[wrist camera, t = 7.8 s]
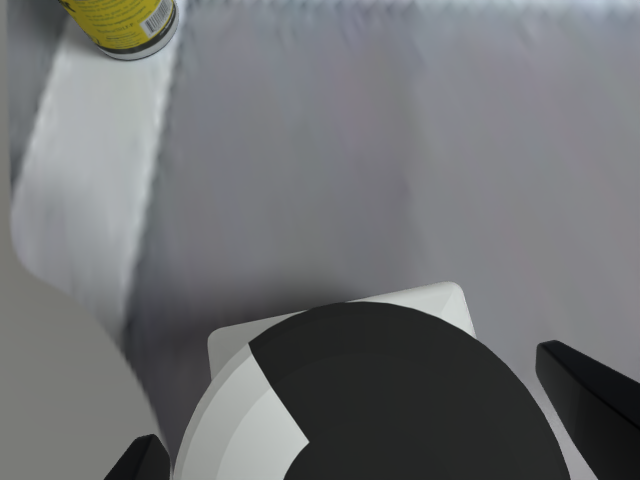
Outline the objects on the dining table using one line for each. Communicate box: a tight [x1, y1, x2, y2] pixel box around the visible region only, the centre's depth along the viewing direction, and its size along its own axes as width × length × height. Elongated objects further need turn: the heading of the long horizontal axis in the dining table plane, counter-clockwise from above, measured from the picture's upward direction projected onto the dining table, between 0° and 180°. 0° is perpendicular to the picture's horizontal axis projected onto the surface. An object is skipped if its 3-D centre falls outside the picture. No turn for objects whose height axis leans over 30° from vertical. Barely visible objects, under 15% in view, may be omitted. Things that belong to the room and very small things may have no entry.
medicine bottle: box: [173, 281, 571, 480], centre depth 11 cm, size 7×7×12 cm
